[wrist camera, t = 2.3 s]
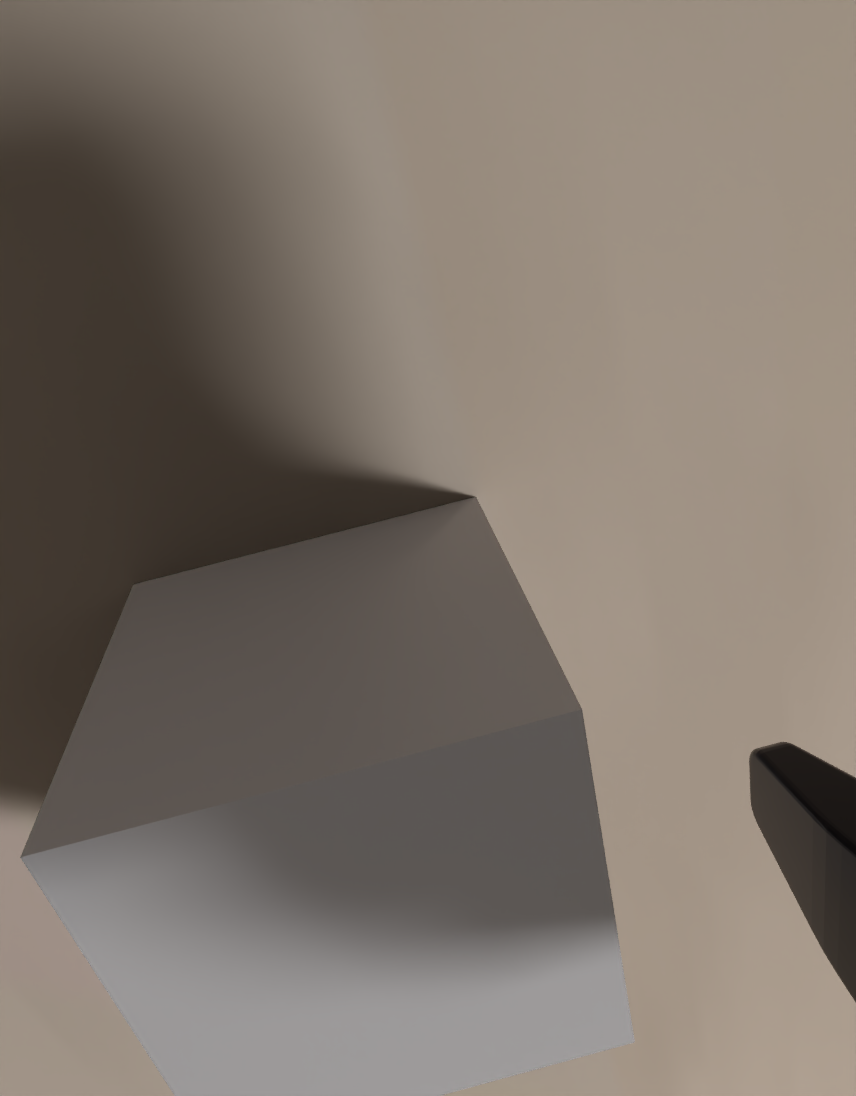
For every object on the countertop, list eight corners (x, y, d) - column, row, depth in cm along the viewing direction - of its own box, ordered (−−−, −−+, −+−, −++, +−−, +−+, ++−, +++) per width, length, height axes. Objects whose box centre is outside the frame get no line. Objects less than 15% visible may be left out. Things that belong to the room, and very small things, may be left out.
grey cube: (474, 494, 11) (582, 710, 7) (528, 754, 14) (634, 1041, 9) (134, 581, 11) (19, 857, 7) (245, 829, 14) (214, 1158, 9)
